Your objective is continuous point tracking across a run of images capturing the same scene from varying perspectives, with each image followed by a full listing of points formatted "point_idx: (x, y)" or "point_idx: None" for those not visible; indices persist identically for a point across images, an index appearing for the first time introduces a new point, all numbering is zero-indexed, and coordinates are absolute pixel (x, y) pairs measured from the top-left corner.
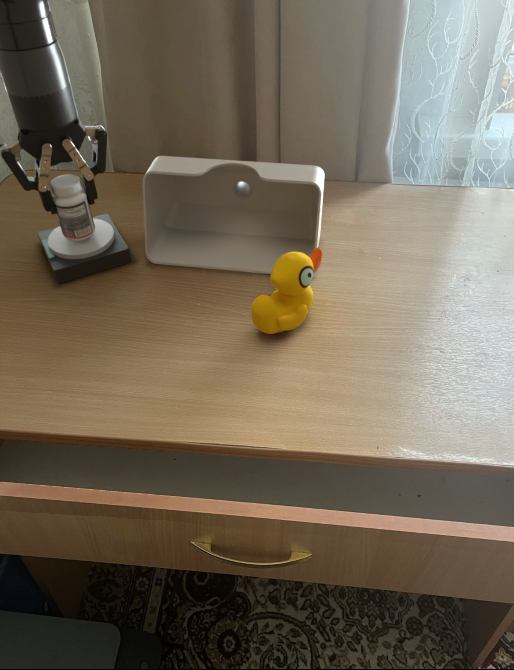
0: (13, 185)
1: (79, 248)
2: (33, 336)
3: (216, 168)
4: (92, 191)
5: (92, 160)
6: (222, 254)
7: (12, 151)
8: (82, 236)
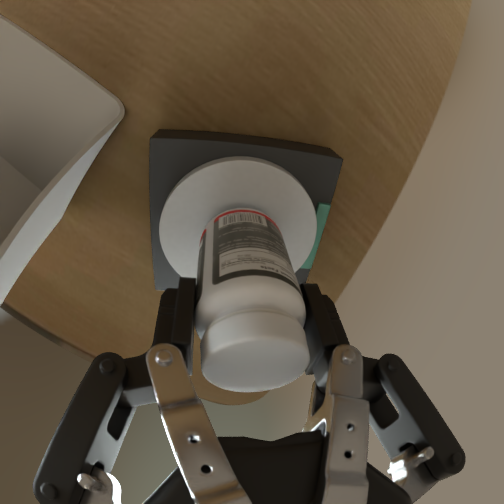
0: (257, 393)
1: (265, 190)
2: (420, 51)
3: None
4: (172, 310)
5: (134, 409)
6: (6, 73)
7: (426, 475)
8: (248, 211)
